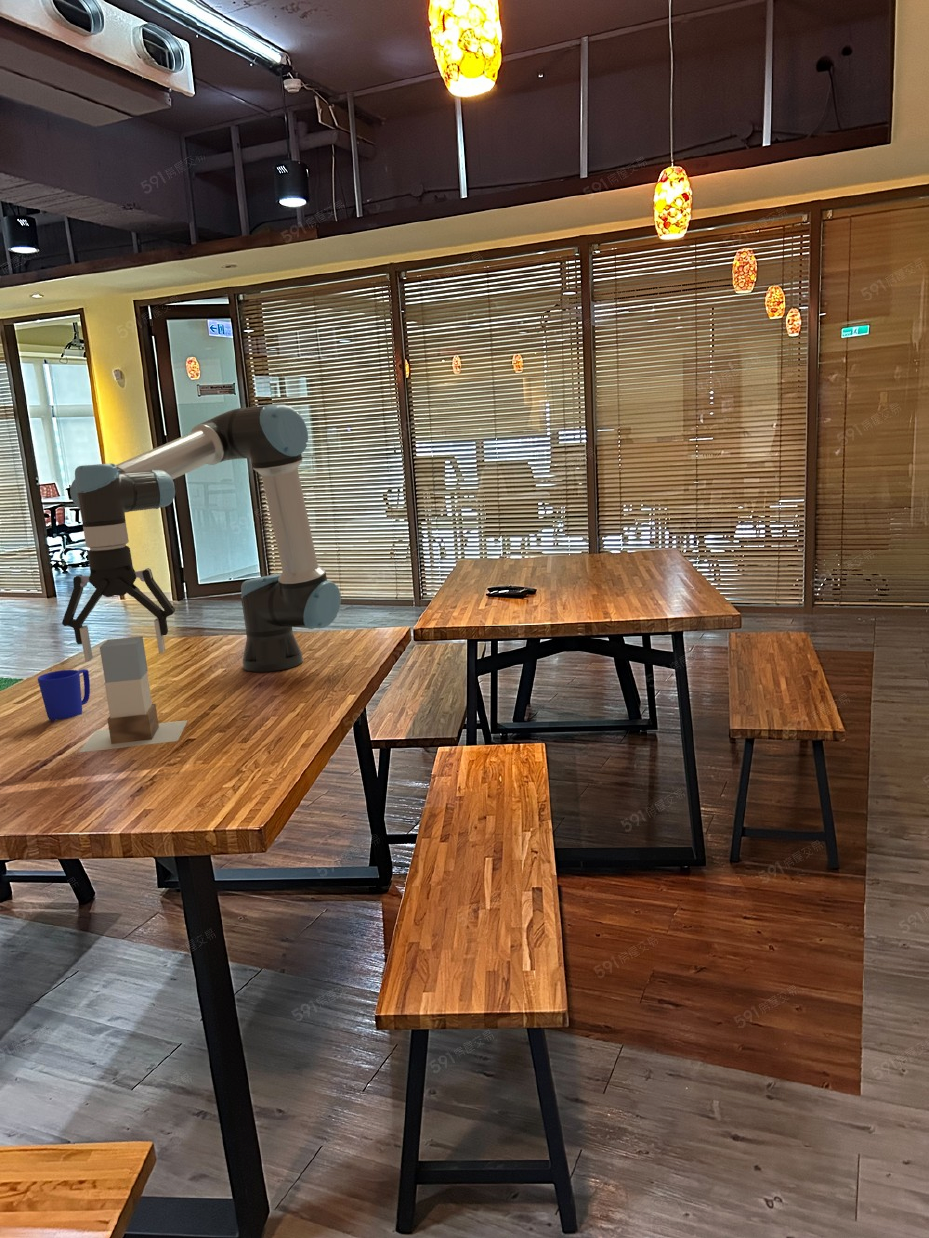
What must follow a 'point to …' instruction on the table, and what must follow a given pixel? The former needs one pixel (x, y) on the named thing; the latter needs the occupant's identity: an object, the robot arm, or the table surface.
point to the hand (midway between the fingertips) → (125, 656)
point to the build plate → (163, 735)
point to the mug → (64, 693)
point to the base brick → (134, 727)
